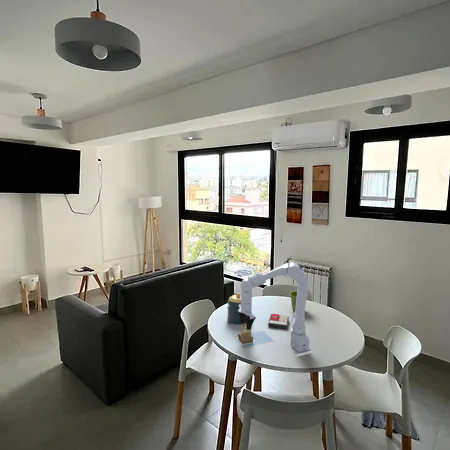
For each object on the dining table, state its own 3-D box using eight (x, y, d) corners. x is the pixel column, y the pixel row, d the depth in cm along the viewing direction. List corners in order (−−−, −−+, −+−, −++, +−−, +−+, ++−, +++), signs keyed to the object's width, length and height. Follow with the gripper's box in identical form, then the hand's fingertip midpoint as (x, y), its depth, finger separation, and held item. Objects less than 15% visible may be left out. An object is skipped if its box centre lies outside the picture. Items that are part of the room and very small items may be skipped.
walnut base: (253, 341, 157) (253, 336, 157) (242, 343, 155) (242, 338, 155) (248, 336, 163) (248, 331, 162) (238, 338, 161) (238, 332, 160)
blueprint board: (274, 342, 159) (274, 340, 158) (243, 348, 152) (243, 346, 152) (263, 332, 170) (263, 330, 170) (234, 337, 163) (234, 335, 163)
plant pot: (285, 308, 203) (285, 292, 201) (299, 305, 208) (299, 290, 206) (296, 315, 192) (297, 298, 191) (310, 312, 197) (311, 295, 196)
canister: (225, 324, 179) (225, 296, 176) (229, 315, 191) (230, 288, 189) (246, 327, 176) (247, 298, 173) (250, 317, 188) (250, 290, 186)
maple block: (251, 335, 158) (251, 326, 157) (244, 337, 156) (244, 327, 155) (247, 332, 161) (248, 323, 161) (241, 333, 160) (241, 324, 159)
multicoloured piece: (288, 314, 185) (287, 324, 171) (288, 321, 186) (287, 331, 171) (270, 312, 188) (268, 322, 173) (270, 319, 188) (267, 329, 174)
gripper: (233, 297, 161) (233, 321, 163) (245, 307, 148) (244, 333, 150) (245, 296, 164) (245, 319, 166) (257, 306, 151) (257, 331, 152)
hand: (245, 326), depth 158 cm, fingers open, 7 cm apart
